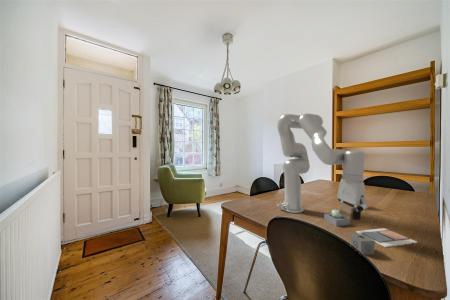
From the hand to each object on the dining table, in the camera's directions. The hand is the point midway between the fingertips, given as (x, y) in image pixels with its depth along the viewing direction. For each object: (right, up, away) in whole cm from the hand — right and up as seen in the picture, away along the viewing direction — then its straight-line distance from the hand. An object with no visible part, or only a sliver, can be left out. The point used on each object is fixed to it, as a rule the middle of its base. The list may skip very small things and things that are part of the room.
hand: (349, 215), depth 79 cm
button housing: (0, -7, +10) cm, 13 cm away
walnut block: (0, 0, 0) cm, 0 cm away
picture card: (+11, -7, -5) cm, 15 cm away
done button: (0, -5, +10) cm, 11 cm away
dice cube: (-6, -8, -14) cm, 17 cm away
